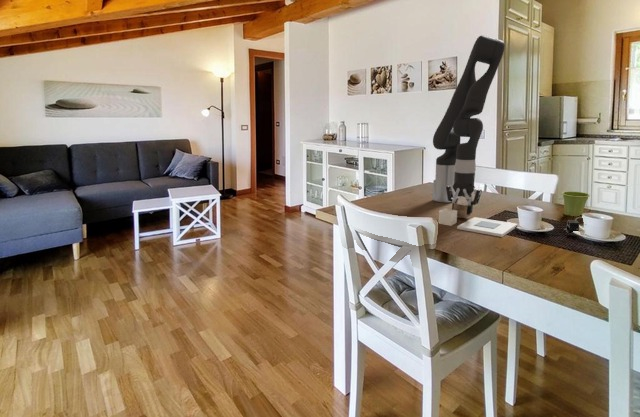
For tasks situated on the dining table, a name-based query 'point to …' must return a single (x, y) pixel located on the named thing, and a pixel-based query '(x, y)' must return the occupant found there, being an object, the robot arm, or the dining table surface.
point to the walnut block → (461, 209)
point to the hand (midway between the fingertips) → (461, 213)
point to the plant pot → (574, 203)
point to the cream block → (447, 217)
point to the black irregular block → (572, 226)
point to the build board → (487, 226)
